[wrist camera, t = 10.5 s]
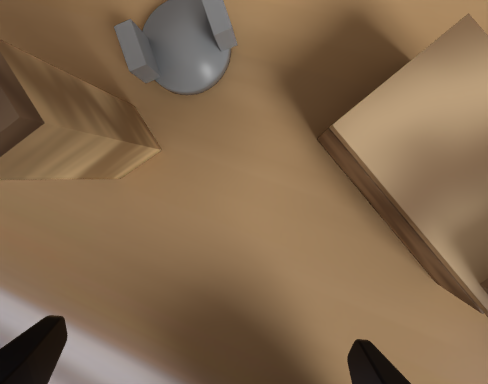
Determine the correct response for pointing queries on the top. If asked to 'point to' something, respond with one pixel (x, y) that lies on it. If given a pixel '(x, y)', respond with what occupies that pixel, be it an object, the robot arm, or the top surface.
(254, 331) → the top surface
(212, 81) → the grey rounded piece
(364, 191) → the open wooden box
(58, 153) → the wooden block
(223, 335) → the top surface
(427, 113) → the lid
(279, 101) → the top surface
